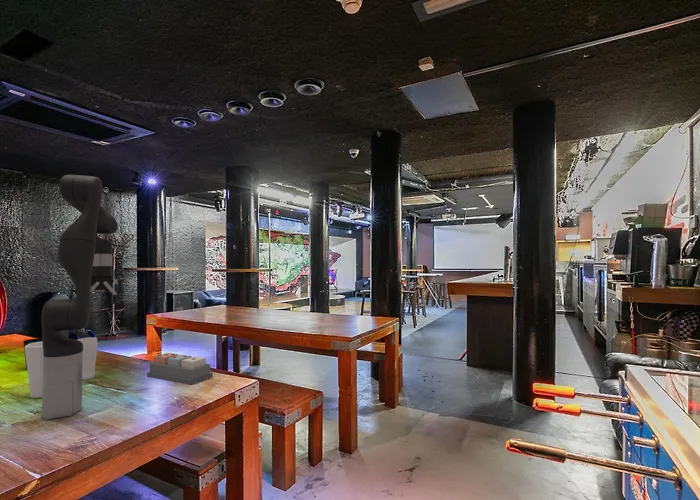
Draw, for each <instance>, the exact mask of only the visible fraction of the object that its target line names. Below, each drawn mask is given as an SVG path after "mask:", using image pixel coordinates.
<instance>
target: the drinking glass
mask: <svg viewBox="0 0 700 500" xmlns="http://www.w3.org/2000/svg"><path fill="white" fill-rule="evenodd" d="M76 340H78V341H81V342H82V343H83V376H82V381H86V380H91V379H93V378H94V377H95V376H96V375H95V374H96V373H95V370H96V360H97V354H98V353H97V351H98V337H96V336H95V337H94V336H93V337H92V336H91V337H84V338H83V337H81V338H78V339H76Z"/></svg>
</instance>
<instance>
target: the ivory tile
mask: <svg viewBox="0 0 700 500" xmlns="http://www.w3.org/2000/svg"><path fill="white" fill-rule="evenodd" d="M206 364H207V357H202V356H201V357H200V356H192V357H191V358H188V359H184V360H182V366H181V368H187V369H196V368H199V367H202V366H205V365H206Z"/></svg>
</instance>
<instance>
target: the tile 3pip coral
mask: <svg viewBox="0 0 700 500" xmlns="http://www.w3.org/2000/svg"><path fill="white" fill-rule="evenodd" d="M177 355H179V354H178V353H173V352H165V353H161V354H158V355H154V361H153V362H154V363H157V364H163V365H165V364H168V358H170V357H174V356H177Z"/></svg>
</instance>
